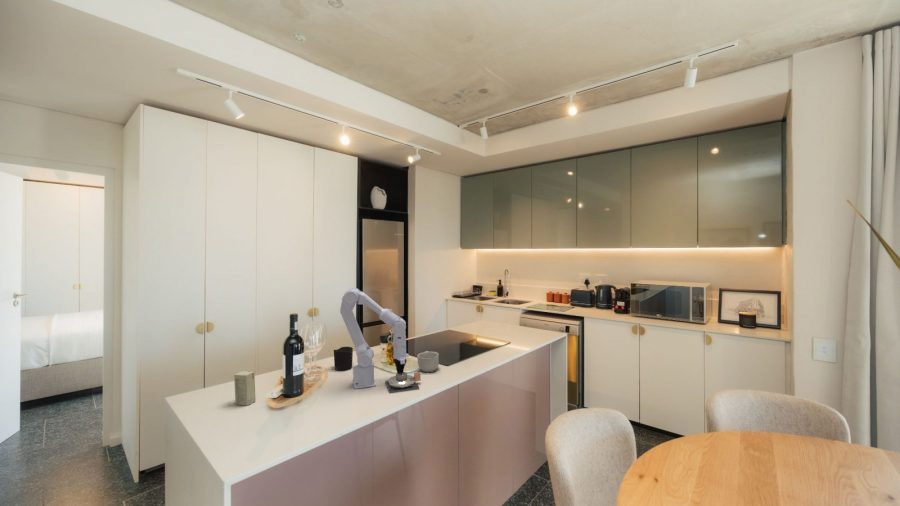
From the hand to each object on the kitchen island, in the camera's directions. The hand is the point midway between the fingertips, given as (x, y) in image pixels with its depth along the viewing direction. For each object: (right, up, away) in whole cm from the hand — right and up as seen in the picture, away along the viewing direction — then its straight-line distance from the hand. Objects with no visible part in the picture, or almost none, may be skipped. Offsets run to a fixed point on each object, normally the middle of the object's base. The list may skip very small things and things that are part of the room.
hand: (400, 374), depth 163 cm
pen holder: (-32, -4, +20) cm, 38 cm away
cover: (+1, -1, -3) cm, 4 cm away
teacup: (+12, -3, +18) cm, 22 cm away
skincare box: (-60, -5, -20) cm, 63 cm away
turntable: (+2, -2, -3) cm, 4 cm away
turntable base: (+1, -4, -3) cm, 5 cm away
